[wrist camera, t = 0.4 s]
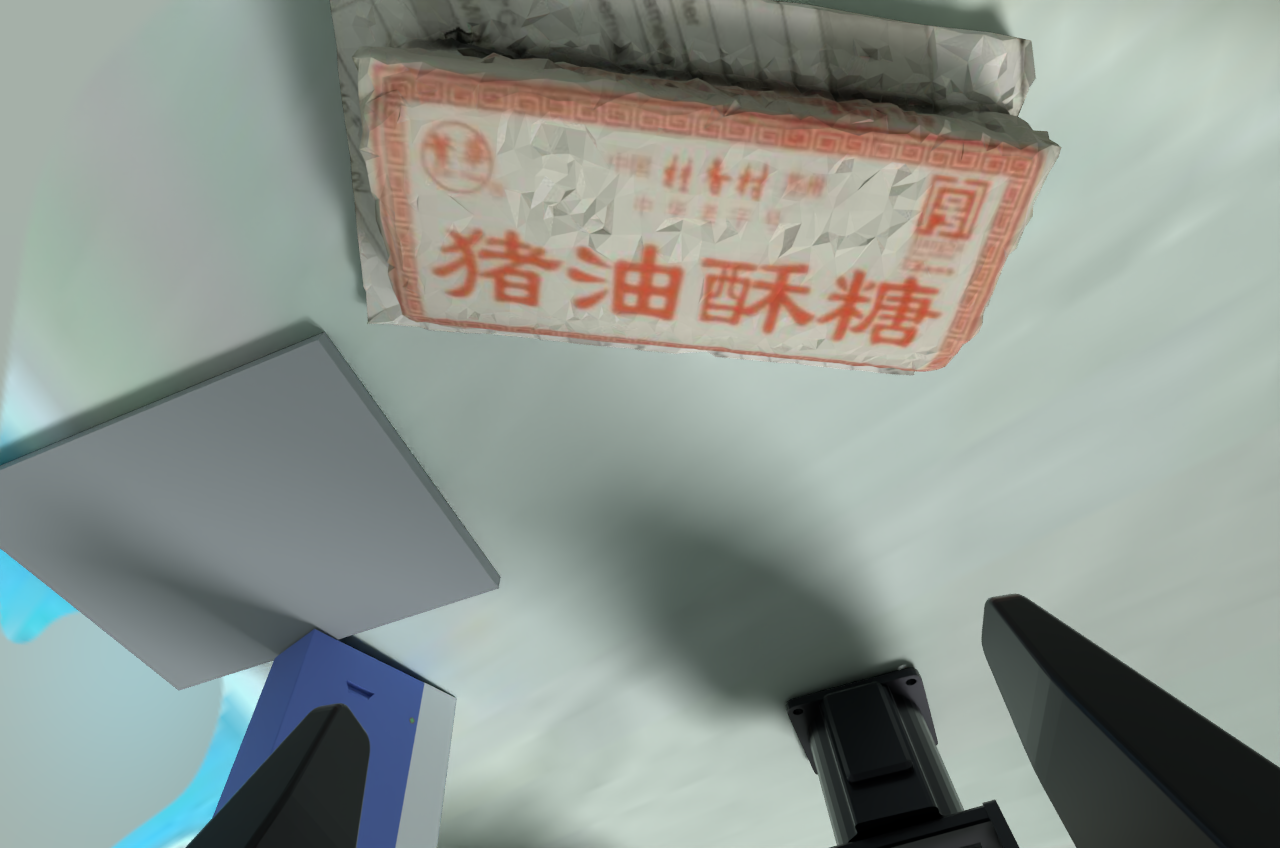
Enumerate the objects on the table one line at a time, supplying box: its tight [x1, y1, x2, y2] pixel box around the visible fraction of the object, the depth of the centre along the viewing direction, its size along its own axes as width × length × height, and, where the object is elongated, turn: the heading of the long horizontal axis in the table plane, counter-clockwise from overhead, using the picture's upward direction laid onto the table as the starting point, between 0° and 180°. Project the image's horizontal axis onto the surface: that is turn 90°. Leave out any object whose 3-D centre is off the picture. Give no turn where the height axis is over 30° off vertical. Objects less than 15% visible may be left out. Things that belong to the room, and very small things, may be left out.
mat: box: [0, 332, 500, 690], centre depth 26 cm, size 12×16×1 cm
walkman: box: [213, 629, 457, 848], centre depth 25 cm, size 8×3×12 cm, turn 39°
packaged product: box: [330, 0, 1061, 375], centre depth 18 cm, size 18×5×10 cm
